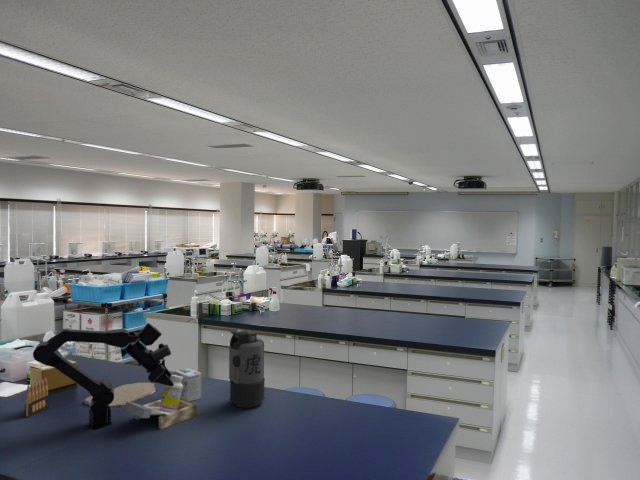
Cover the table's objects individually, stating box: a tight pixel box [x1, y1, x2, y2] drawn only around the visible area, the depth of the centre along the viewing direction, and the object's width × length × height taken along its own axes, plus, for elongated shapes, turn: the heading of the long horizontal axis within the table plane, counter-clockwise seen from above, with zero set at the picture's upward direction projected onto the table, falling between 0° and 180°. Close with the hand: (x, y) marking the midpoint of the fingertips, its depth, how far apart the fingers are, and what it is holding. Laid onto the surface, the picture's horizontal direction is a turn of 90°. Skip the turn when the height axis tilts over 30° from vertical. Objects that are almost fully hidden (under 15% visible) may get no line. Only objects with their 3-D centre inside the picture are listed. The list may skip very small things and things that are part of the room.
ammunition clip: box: [24, 377, 50, 418], centre depth 185 cm, size 11×2×12 cm, turn 171°
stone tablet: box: [84, 382, 157, 408], centre depth 203 cm, size 16×30×2 cm, turn 150°
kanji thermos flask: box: [228, 329, 265, 409], centre depth 197 cm, size 14×14×30 cm
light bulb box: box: [174, 367, 202, 403], centre depth 204 cm, size 11×7×11 cm, turn 47°
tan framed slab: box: [134, 399, 198, 430], centre depth 182 cm, size 16×16×5 cm
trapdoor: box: [123, 401, 171, 419], centre depth 178 cm, size 20×12×3 cm, turn 144°
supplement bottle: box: [159, 374, 183, 412], centre depth 184 cm, size 7×7×13 cm
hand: (172, 381), depth 183 cm, fingers open, 9 cm apart
